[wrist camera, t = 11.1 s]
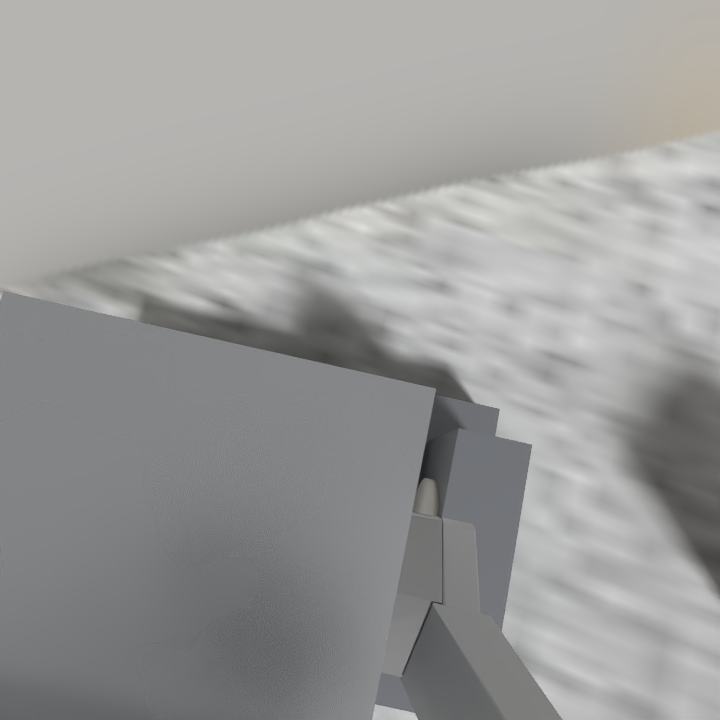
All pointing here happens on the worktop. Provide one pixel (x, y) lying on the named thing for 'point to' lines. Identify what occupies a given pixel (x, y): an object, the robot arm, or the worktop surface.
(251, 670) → the block
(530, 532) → the worktop surface
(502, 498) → the scale
